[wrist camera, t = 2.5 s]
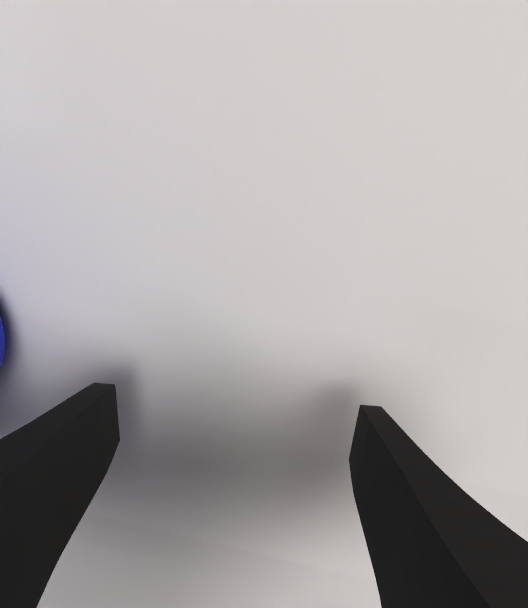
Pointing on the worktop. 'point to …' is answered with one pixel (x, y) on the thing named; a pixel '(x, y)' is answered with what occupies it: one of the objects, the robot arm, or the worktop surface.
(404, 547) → the robot arm
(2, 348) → the mug
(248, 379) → the worktop surface
